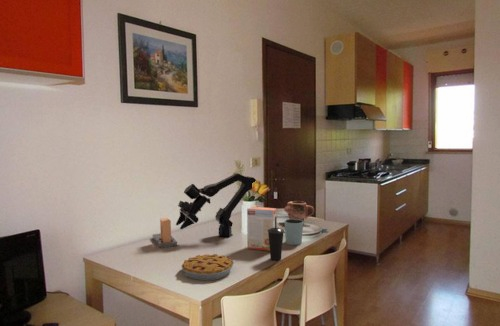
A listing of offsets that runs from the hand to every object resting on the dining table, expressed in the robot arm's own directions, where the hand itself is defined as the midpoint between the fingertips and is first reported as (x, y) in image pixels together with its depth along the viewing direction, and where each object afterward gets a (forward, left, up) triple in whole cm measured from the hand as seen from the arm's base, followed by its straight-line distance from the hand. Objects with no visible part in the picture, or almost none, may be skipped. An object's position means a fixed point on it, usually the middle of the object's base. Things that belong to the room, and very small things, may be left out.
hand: (178, 226), depth 198 cm
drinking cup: (-57, +9, -9) cm, 58 cm away
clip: (+5, +5, -8) cm, 11 cm away
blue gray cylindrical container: (-59, -19, -9) cm, 63 cm away
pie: (-34, +33, -9) cm, 48 cm away
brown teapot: (-52, -63, -9) cm, 82 cm away
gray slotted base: (+8, +2, -8) cm, 12 cm away
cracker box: (-46, -4, -9) cm, 47 cm away
